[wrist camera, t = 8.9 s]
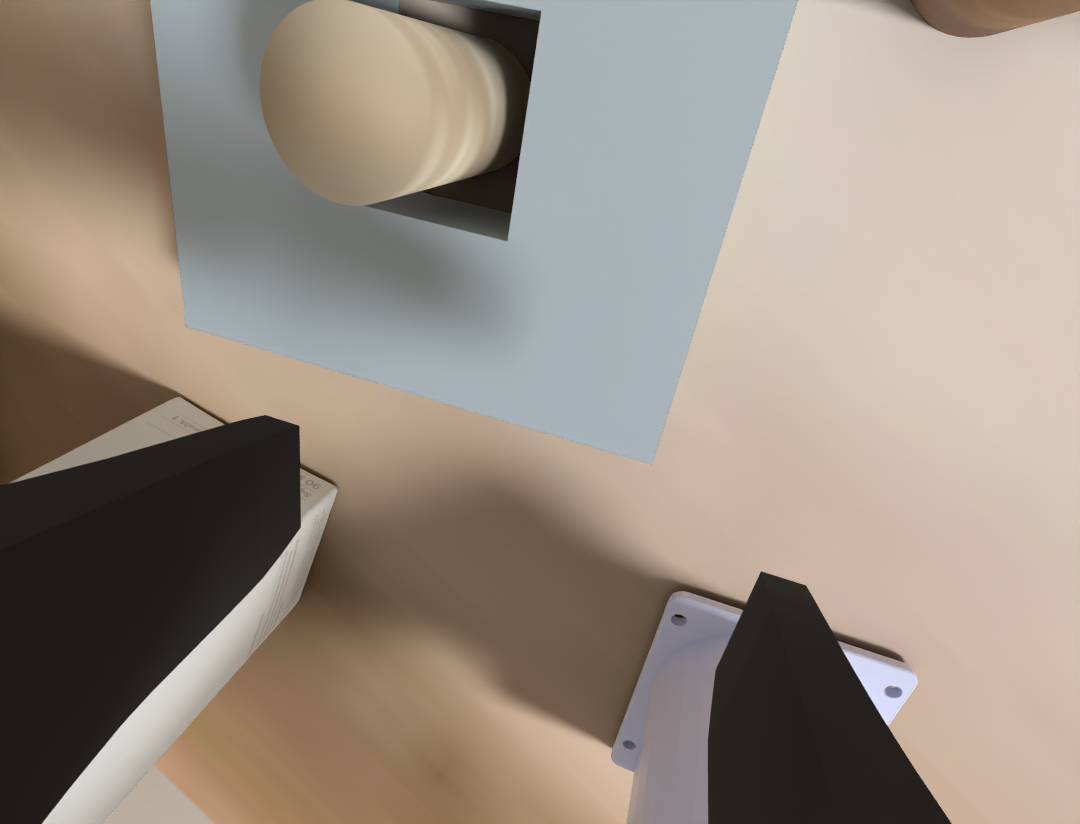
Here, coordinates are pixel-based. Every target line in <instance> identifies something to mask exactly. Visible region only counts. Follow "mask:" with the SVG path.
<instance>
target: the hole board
mask: <svg viewBox="0 0 1080 824" xmlns="http://www.w3.org/2000/svg"><path fill="white" fill-rule="evenodd" d="M310 1H313V0H150V4H151V13H152V22H153V31H154V40H155V49H156V59H157V68H158V77H159V86H160V95H161V104H162V113H163V122H164V132H165V141H166V150H167V159H168V168H169V177H170V186H171V196H172V205H173V214H174V223H175V232H176V241H177V250H178V259H179V269H180V278H181V287H182V296H183V305H184V314H185V323H186V327H189V328H192V329H195V330H199V331H202V332H205V333H209V334H212V335H216V336H219V337H222V338H226V339H229V340H232V341H236V342H239V343H243V344H246V345H249V346H253V347H256V348H259V349H263V350H266V351H270V352H273V353H276V354H280V355H283V356H286V357H290V358H293V359H297V360H300V361H303V362H307V363H310V364H313V365H317V366H320V367H324V368H327V369H330V370H334V371H337V372H340V373H344V374H347V375H351V376H354V377H357V378H361V379H364V380H367V381H371V382H374V383H378V384H381V385H384V386H388V387H391V388H394V389H398V390H401V391H405V392H408V393H411V394H415V395H418V396H421V397H425V398H428V399H432V400H435V401H438V402H442V403H445V404H448V405H452V406H455V407H458V408H462V409H465V410H469V411H472V412H475V413H479V414H482V415H485V416H489V417H492V418H496V419H499V420H502V421H506V422H509V423H512V424H516V425H519V426H523V427H526V428H529V429H533V430H536V431H539V432H543V433H546V434H550V435H553V436H556V437H560V438H563V439H566V440H570V441H573V442H577V443H580V444H583V445H587V446H590V447H593V448H597V449H600V450H604V451H607V452H610V453H614V454H617V455H620V456H624V457H627V458H631V459H634V460H637V461H641V462H644V463H647V464H651V465H652V464H653V461H654V457H655V454H656V451H657V448H658V445H659V442H660V438H661V435H662V432H663V429H664V426H665V423H666V419H667V416H668V413H669V410H670V407H671V403H672V400H673V397H674V394H675V391H676V388H677V384H678V381H679V378H680V375H681V372H682V368H683V365H684V362H685V359H686V356H687V353H688V349H689V346H690V343H691V340H692V337H693V333H694V330H695V327H696V324H697V321H698V318H699V314H700V311H701V308H702V305H703V302H704V298H705V295H706V292H707V289H708V286H709V283H710V279H711V276H712V273H713V270H714V267H715V263H716V260H717V257H718V254H719V251H720V248H721V244H722V241H723V238H724V235H725V232H726V228H727V225H728V222H729V219H730V216H731V213H732V209H733V206H734V203H735V200H736V197H737V194H738V190H739V187H740V184H741V181H742V178H743V174H744V171H745V168H746V165H747V162H748V159H749V155H750V152H751V149H752V146H753V143H754V139H755V136H756V133H757V130H758V127H759V124H760V120H761V117H762V114H763V111H764V108H765V104H766V101H767V98H768V95H769V92H770V89H771V85H772V82H773V79H774V76H775V73H776V69H777V66H778V63H779V60H780V57H781V54H782V50H783V47H784V44H785V41H786V38H787V34H788V31H789V28H790V25H791V22H792V19H793V15H794V12H795V9H796V6H797V3H798V0H431V1H437V2H442V3H447V4H453V5H458V6H464V7H469V8H474V9H480V10H485V11H490V12H496V13H501V14H506V15H512V16H517V17H522V18H528V19H533V20H539V21H540V24H539V31H538V38H537V44H536V51H535V58H534V65H533V72H532V78H531V85H530V92H529V99H528V106H527V112H526V119H525V126H524V133H523V139H522V146H521V153H520V160H519V167H518V173H517V180H516V187H515V194H514V200H513V207H512V214H511V213H507V212H503V211H499V210H494V209H490V208H486V207H482V206H478V205H474V204H469V203H465V202H461V201H457V200H453V199H449V198H444V197H440V196H436V195H432V194H428V193H424V192H415V193H411V194H408V195H404V196H400V197H396V198H393V199H389V200H385V201H382V202H378V203H374V204H370V205H364V206H350V205H343V204H339V203H336V202H332V201H330V200H328V199H325V198H323V197H321V196H319V195H318V194H316V193H314V192H313V191H311V190H310V189H309V188H308V187H306V186H305V185H304V184H302V183H301V182H300V181H299V180H298V179H297V178H296V177H295V176H294V175H293V173H292V172H291V171H290V170H289V168H288V167H287V166H286V165H285V163H284V162H283V160H282V159H281V157H280V156H279V154H278V152H277V150H276V148H275V146H274V145H273V142H272V140H271V138H270V135H269V133H268V130H267V127H266V124H265V120H264V116H263V111H262V107H261V98H260V74H261V66H262V61H263V57H264V53H265V50H266V47H267V44H268V42H269V40H270V38H271V36H272V34H273V32H274V31H275V29H276V28H277V26H278V25H279V24H280V22H281V21H282V20H283V19H284V18H285V17H286V16H287V15H288V14H289V13H290V12H292V11H293V10H294V9H296V8H297V7H299V6H301V5H303V4H305V3H307V2H310ZM348 1H352V2H356V3H360V4H363V5H367V6H371V7H374V8H378V9H381V10H385V11H389V12H392V13H396V14H399V0H348Z"/></svg>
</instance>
